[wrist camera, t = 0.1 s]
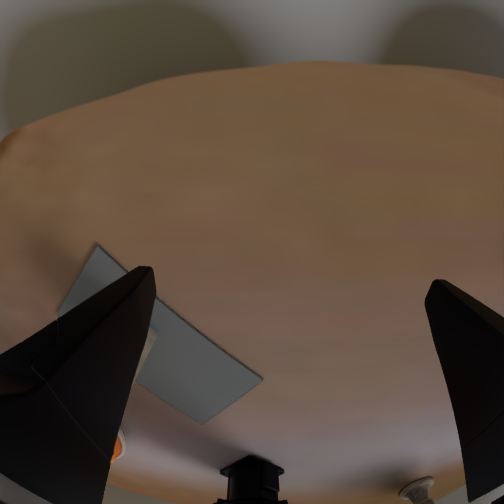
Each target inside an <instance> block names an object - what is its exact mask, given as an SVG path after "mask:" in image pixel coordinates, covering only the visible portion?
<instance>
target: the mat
mask: <svg viewBox="0 0 504 504" xmlns="http://www.w3.org/2000/svg"><path fill="white" fill-rule="evenodd" d="M127 273H128V272H127V271H126V270H125V269H124V268H123V267H122V266H121V265H120V264H119V263H117V262H116V261H115V260H114V259H113V258H112V257H111V256H110V255H109V254H108V253H107V252H106V251H105V250H103V249H102V248H101V247H100V246H99V245H98V246H97V247H96V249H95V251H94V252H93V254H92V255H91V257H90V258H89V260H88V261H87V263H86V265H85V266H84V268H83V269H82V271H81V273H80V274H79V276H78V278H77V279H76V281H75V283H74V284H73V286H72V288H71V290H70V291H69V293H68V295H67V297H66V298H65V300H64V302H63V304H62V305H61V307H60V309H59V311H58V313H57V315H58V316H59V317H61V316H62V315H64V314H65V313H67V312H68V311H70V310H71V309H73V308H74V307H76V306H77V305H79V304H80V303H82V302H83V301H85V300H86V299H88V298H89V297H91V296H92V295H94V294H95V293H97V292H98V291H100V290H102V289H103V288H105V287H106V286H108V285H109V284H111V283H112V282H114V281H116V280H117V279H119V278H120V277H122V276H124V275H125V274H127ZM150 324H152V325H153V326H154V327H155V328H156V329H158V330H159V331H160V332H159V334H158V336H157V338H156V340H155V342H154V344H153V346H152V348H151V350H150V352H149V354H148V356H147V357H146V359H145V361H144V363H143V366H142V368H141V370H140V372H139V374H138V376H137V378H136V380H135V381H136V382H137V383H139V384H140V385H142V386H143V387H144V388H146V389H147V390H149V391H150V392H151V393H153V394H154V395H156V396H157V397H159V398H160V399H162V400H163V401H165V402H166V403H168V404H169V405H171V406H172V407H174V408H175V409H177V410H178V411H180V412H182V413H183V414H185V415H186V416H188V417H190V418H191V419H193V420H195V421H196V422H198V423H200V424H201V425H202V424H203V423H205V422H206V421H208V420H209V419H211V418H212V417H214V416H215V415H217V414H218V413H219V412H221V411H222V410H224V409H225V408H227V407H228V406H229V405H231V404H232V403H233V402H235V401H236V400H238V399H239V398H240V397H242V396H243V395H244V394H246V393H247V392H248V391H250V390H251V389H252V388H254V387H255V386H256V385H258V384H259V383H260V382H262V381H263V378H262V377H260V376H259V375H258V374H256V373H255V372H253V371H252V370H250V369H249V368H248V367H246V366H245V365H243V364H242V363H241V362H239V361H238V360H236V359H235V358H234V357H232V356H231V355H230V354H228V353H227V352H225V351H224V350H223V349H221V348H220V347H219V346H217V345H216V344H215V343H213V342H212V341H211V340H209V339H208V338H207V337H206V336H204V335H203V334H202V333H200V332H199V331H198V330H197V329H195V328H194V327H193V326H191V325H190V324H189V323H188V322H186V321H185V320H184V319H183V318H181V317H180V316H179V315H178V314H176V313H175V312H174V311H173V310H172V309H170V308H169V307H168V306H167V305H166V304H164V303H163V302H162V301H161V300H160V299H158V298H157V297H156V298H155V303H154V307H153V312H152V316H151V321H150Z"/></svg>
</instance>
